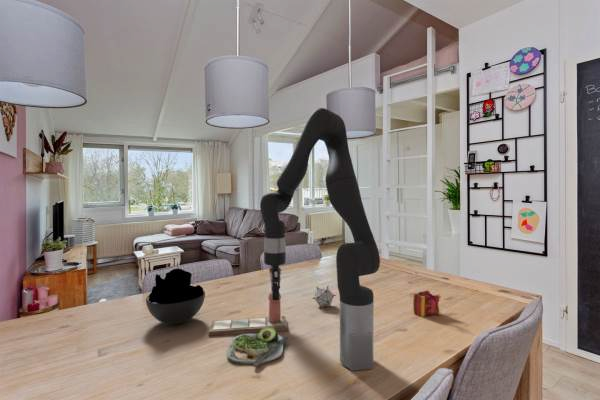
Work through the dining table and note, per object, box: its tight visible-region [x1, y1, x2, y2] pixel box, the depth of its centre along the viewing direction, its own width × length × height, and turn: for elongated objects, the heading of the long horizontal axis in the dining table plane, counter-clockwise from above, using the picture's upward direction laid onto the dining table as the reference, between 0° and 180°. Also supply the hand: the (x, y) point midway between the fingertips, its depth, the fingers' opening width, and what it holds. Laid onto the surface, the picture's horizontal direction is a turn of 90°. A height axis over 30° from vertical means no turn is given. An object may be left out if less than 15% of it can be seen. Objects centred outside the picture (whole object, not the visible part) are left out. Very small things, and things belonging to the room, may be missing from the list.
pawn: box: [267, 291, 282, 324], centre depth 115 cm, size 4×4×11 cm
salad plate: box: [226, 327, 289, 367], centre depth 97 cm, size 19×18×5 cm
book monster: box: [412, 289, 442, 318], centre depth 123 cm, size 11×9×12 cm
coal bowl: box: [145, 268, 206, 325], centre depth 119 cm, size 20×20×19 cm
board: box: [208, 315, 289, 337], centre depth 114 cm, size 9×26×2 cm, turn 98°
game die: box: [311, 285, 337, 309], centre depth 134 cm, size 9×8×10 cm
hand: (275, 295), depth 115 cm, fingers open, 8 cm apart
